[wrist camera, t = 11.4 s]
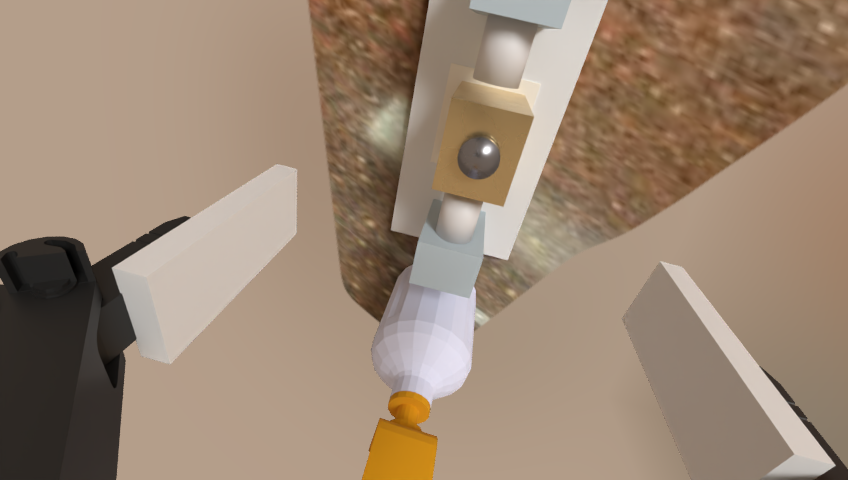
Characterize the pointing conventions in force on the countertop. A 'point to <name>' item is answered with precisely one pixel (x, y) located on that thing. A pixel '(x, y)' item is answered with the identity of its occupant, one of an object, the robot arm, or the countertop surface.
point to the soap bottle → (417, 373)
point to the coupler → (482, 143)
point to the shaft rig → (498, 68)
